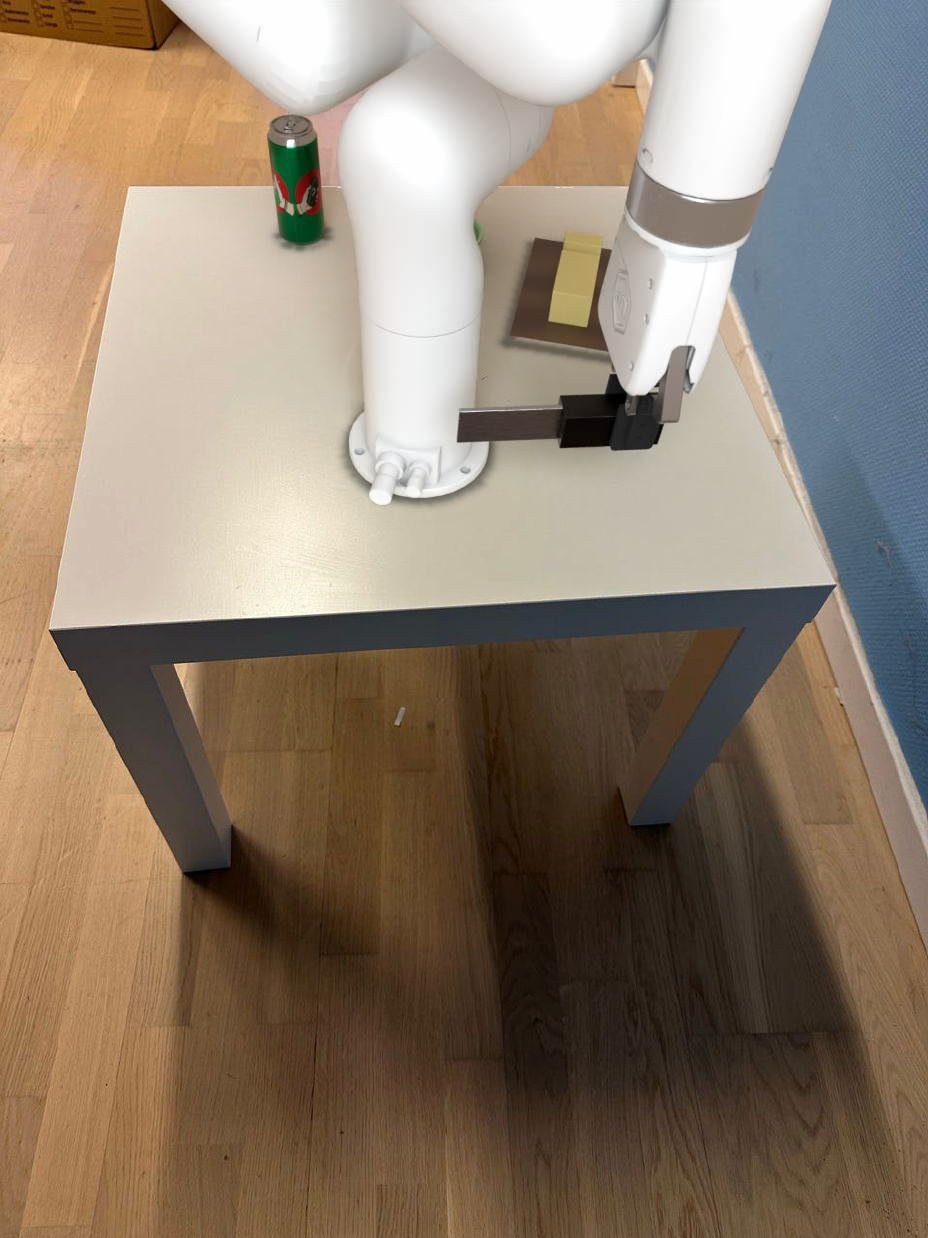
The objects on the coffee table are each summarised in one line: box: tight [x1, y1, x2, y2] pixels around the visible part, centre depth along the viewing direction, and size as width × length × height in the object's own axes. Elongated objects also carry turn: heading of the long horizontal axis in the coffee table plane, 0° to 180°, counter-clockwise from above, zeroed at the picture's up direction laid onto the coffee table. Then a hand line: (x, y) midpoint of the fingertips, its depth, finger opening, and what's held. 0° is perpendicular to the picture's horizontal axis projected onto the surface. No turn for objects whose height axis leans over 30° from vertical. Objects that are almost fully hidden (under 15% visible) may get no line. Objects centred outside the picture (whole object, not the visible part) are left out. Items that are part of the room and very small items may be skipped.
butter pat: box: [563, 230, 604, 255], centre depth 96 cm, size 2×4×4 cm, turn 79°
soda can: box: [266, 114, 326, 246], centre depth 95 cm, size 5×5×12 cm
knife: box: [456, 391, 665, 449], centre depth 65 cm, size 15×2×3 cm, turn 97°
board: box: [509, 237, 612, 353], centre depth 95 cm, size 18×11×1 cm, turn 169°
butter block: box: [548, 250, 600, 327], centre depth 92 cm, size 8×4×4 cm, turn 169°
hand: (625, 430), depth 67 cm, fingers closed on knife, 2 cm apart
